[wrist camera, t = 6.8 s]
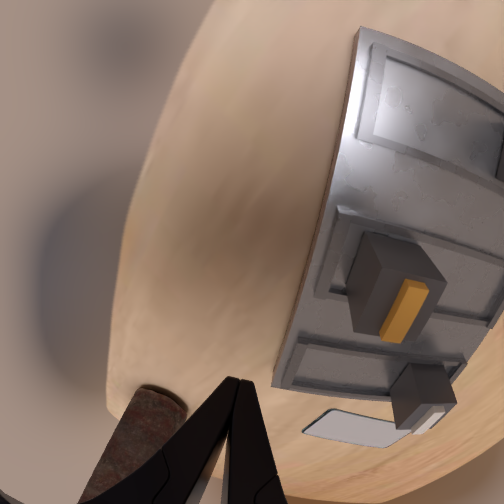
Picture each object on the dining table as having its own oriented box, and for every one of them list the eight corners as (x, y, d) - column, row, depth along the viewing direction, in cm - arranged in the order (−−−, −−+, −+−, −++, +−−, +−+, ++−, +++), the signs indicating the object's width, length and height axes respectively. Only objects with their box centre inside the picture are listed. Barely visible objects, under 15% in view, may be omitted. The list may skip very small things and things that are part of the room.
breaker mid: (420, 245, 16) (453, 290, 11) (397, 297, 18) (418, 350, 13) (364, 230, 16) (385, 274, 11) (345, 286, 18) (355, 341, 13)
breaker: (443, 364, 20) (459, 409, 15) (422, 392, 21) (432, 434, 17) (410, 362, 20) (423, 411, 15) (389, 390, 22) (396, 436, 17)
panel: (545, 135, 11) (565, 141, 9) (429, 388, 24) (434, 408, 21) (354, 35, 13) (363, 21, 10) (273, 370, 25) (269, 393, 23)
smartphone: (330, 408, 27) (418, 426, 27) (330, 404, 27) (418, 423, 28) (299, 432, 30) (385, 448, 31) (299, 429, 31) (385, 445, 31)
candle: (155, 376, 30) (83, 518, 12) (201, 410, 31) (151, 547, 13) (129, 390, 33) (66, 505, 15) (169, 419, 34) (121, 532, 17)
